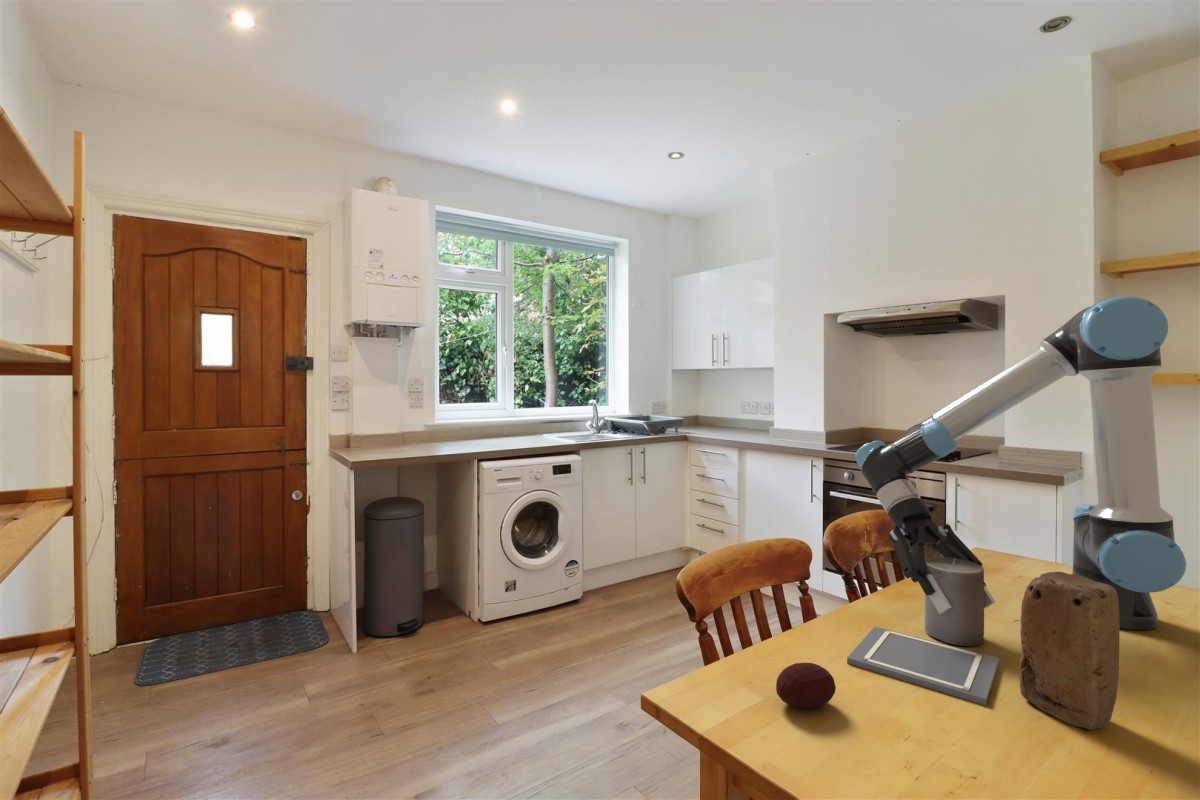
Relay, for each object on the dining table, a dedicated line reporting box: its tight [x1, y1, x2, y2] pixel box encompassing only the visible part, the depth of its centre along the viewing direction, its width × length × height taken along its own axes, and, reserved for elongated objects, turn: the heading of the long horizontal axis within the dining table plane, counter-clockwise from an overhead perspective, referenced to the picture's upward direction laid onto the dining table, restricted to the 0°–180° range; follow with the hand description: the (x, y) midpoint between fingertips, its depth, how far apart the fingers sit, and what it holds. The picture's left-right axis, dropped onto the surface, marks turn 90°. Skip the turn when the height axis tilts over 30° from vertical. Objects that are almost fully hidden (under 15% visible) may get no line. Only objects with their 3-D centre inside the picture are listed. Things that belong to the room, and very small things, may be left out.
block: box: [1019, 571, 1121, 731], centre depth 84 cm, size 11×8×20 cm
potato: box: [775, 662, 837, 709], centre depth 86 cm, size 8×9×6 cm
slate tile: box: [846, 625, 1000, 706], centre depth 99 cm, size 20×17×1 cm
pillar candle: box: [924, 556, 985, 647], centre depth 110 cm, size 10×10×15 cm
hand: (967, 608), depth 107 cm, fingers closed on pillar candle, 9 cm apart
